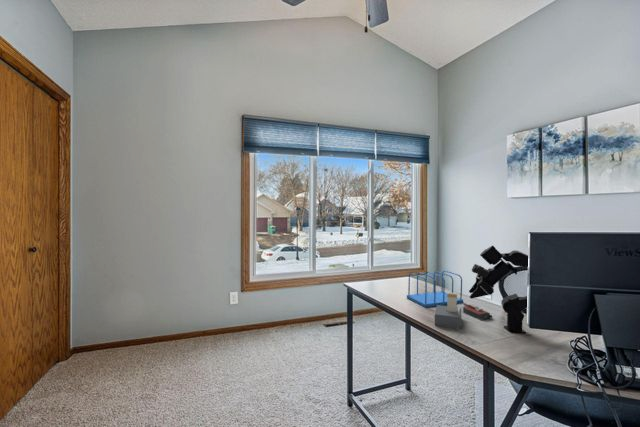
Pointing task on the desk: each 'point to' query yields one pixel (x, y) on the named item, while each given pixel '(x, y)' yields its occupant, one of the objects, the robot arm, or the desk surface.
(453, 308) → the strip
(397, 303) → the desk surface
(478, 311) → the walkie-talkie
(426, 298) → the file sorter
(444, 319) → the block
